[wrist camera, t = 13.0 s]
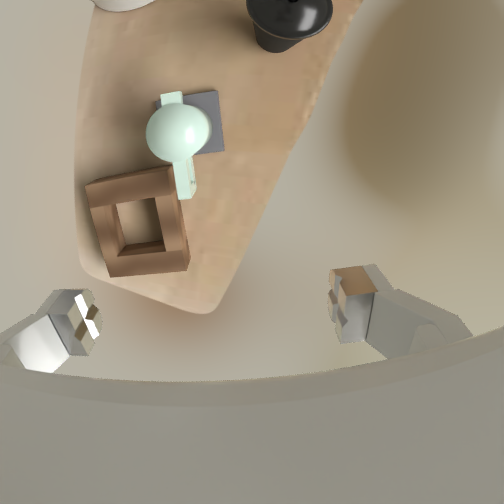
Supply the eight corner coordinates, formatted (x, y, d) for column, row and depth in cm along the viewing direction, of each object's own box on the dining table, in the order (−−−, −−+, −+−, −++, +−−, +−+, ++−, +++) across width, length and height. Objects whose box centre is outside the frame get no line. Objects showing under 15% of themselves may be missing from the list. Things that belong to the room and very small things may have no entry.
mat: (157, 101, 35) (155, 101, 34) (217, 91, 35) (217, 90, 34) (165, 158, 38) (163, 159, 37) (224, 150, 38) (224, 150, 37)
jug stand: (96, 179, 39) (84, 186, 35) (173, 164, 39) (166, 170, 35) (119, 264, 45) (110, 277, 41) (190, 257, 45) (186, 270, 41)
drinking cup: (236, 52, 32) (231, -3, 14) (256, 5, 29) (268, -73, 11) (293, 71, 34) (340, 35, 16) (311, 24, 30) (367, -37, 12)
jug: (163, 101, 34) (141, 98, 26) (209, 93, 34) (199, 87, 26) (174, 183, 39) (157, 203, 31) (219, 178, 39) (212, 196, 31)
